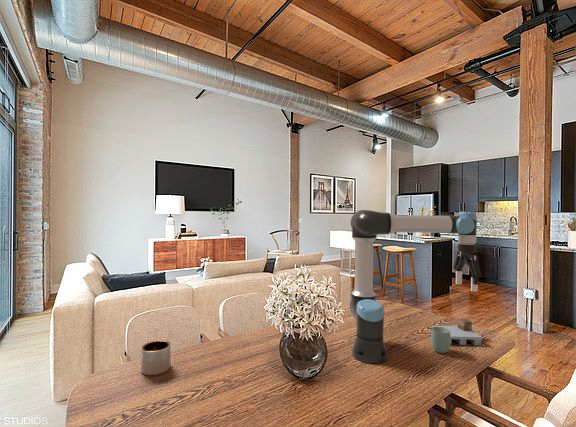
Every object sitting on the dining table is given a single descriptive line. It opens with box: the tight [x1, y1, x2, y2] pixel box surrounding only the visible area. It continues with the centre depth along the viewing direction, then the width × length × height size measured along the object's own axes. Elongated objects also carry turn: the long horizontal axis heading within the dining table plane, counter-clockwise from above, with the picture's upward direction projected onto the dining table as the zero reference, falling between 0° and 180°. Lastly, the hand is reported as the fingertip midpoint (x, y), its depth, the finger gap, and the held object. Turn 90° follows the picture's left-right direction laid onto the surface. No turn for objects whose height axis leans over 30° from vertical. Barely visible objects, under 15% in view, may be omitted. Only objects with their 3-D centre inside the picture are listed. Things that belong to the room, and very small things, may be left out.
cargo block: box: [457, 318, 473, 331], centre depth 160 cm, size 4×4×4 cm
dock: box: [431, 325, 483, 346], centre depth 157 cm, size 18×14×4 cm
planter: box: [140, 339, 171, 377], centre depth 125 cm, size 11×11×10 cm
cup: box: [430, 326, 451, 354], centre depth 144 cm, size 8×8×10 cm
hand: (466, 287), depth 150 cm, fingers open, 13 cm apart
